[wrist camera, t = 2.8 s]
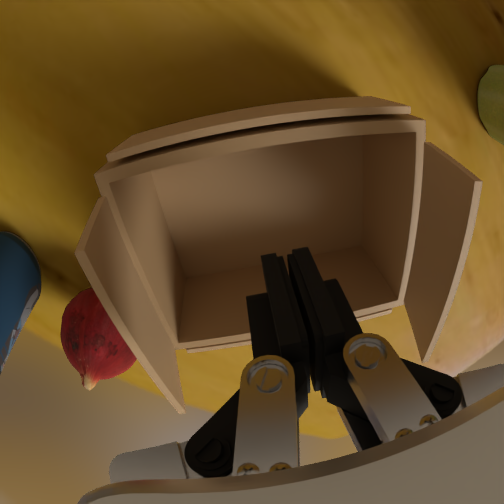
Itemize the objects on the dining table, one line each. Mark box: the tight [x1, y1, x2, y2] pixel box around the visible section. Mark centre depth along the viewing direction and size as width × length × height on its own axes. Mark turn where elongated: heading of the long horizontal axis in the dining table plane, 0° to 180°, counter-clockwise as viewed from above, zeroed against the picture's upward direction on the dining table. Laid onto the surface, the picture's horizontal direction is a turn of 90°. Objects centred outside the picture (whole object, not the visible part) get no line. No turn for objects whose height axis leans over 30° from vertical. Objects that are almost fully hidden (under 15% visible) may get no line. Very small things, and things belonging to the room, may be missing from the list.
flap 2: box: [404, 142, 483, 363], centre depth 10 cm, size 4×8×1 cm
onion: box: [61, 288, 137, 390], centre depth 17 cm, size 6×6×8 cm
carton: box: [94, 96, 426, 353], centre depth 15 cm, size 13×11×6 cm
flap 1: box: [74, 195, 186, 414], centre depth 11 cm, size 4×8×1 cm
